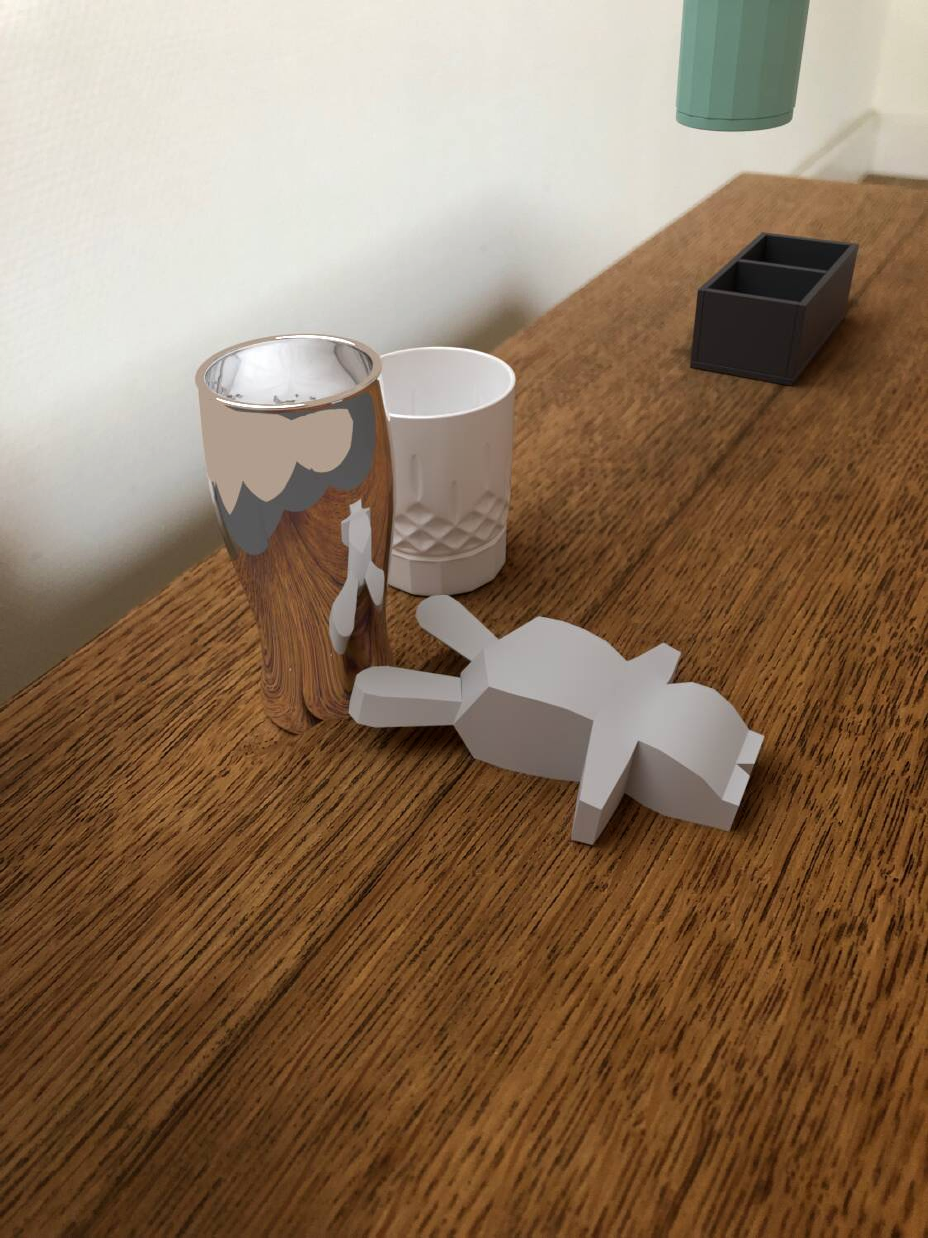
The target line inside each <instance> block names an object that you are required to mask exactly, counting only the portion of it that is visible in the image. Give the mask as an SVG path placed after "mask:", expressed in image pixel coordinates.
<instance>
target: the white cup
mask: <svg viewBox="0 0 928 1238" xmlns="http://www.w3.org/2000/svg"><path fill="white" fill-rule="evenodd" d="M379 356H380V358H381V360H382V373H383V380H384V386H385V392H386V398H387V404H388V410H389V416H390V423H391V430H392V437H393V446H394V456H395V466H396V493H397V501H396V517H395V532H394V540H393V549H392V557H391V565H390V573H389V580H388V586H390V587H393V588H396V589H398V590H400V591H403V592H405V593H408V594H410V595H414V596H423V597H430V596H432V595H448V596H455V595H460V594H466V593H470V592H473V591H475V590H476V589H478V588H480V587H483V586H485V585H486V584H488V583H490V582H491V581H493V580H495V579H496V577H497V575H498V574H499V572H500V571H501V569H502V568H503V567H504V565H505V563H506V554H507V552H506V551H507V527H508V526H507V524H508V522H507V521H508V514H509V512H510V508H511V507H510V503H511V491H512V489H511V487H512V475H513V464H514V463H513V462H514V461H513V459H514V435H515V433H514V432H515V408H516V386H517V385H516V384H517V383H516V382H517V377H516V373H515V371H514V369H513V368H512V367H511V366H510V365H509V364H508V363H507V362H505V361H504V360H502V359H500V358H499V357H497V356H495V355H492V354H490V353H486V352H484V351H480V350H476V349H471V348H465V347H456V346H455V347H454V346H423V347H422V346H421V347H412V348H405V349H400V350H395V351H391V352H387V353H385V354H384V353H383V354H381V355H379Z"/></svg>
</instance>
